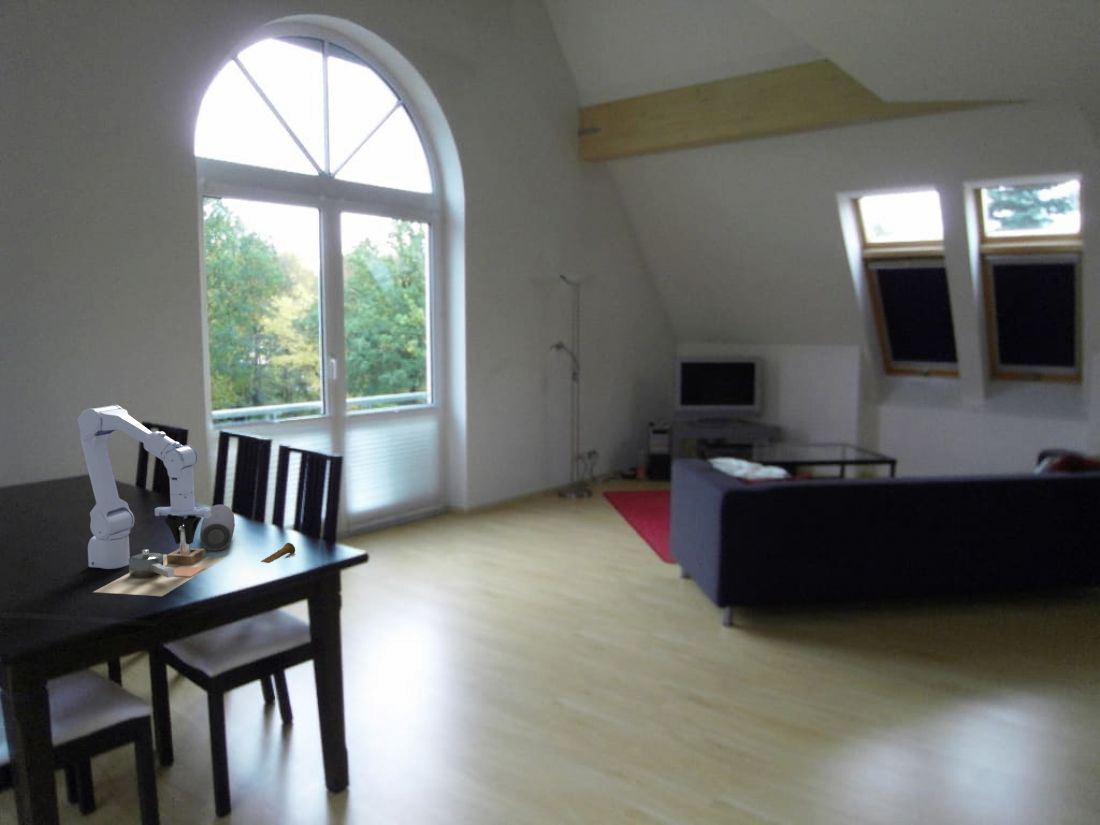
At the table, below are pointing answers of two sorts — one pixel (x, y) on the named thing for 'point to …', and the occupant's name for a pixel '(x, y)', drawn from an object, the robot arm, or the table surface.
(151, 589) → the board
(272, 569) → the table surface
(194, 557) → the socket block
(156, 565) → the grey cylinder with handle
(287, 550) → the primitive tool
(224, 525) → the bluetooth speaker
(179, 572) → the tile
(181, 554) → the key peg
